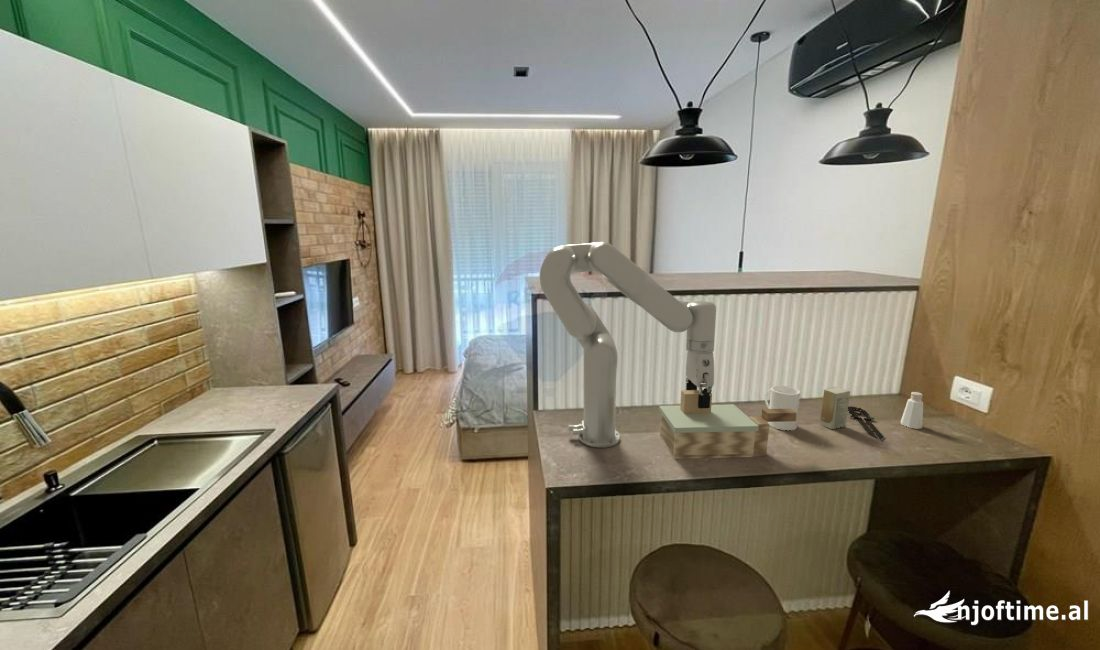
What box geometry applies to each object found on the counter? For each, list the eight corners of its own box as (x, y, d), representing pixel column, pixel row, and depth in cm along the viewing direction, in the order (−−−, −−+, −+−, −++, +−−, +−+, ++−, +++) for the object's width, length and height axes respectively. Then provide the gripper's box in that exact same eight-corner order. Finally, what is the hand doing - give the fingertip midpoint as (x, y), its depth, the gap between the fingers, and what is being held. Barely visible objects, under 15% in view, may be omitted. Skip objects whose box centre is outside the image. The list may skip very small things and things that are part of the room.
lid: (674, 432, 113) (675, 406, 112) (658, 410, 128) (660, 387, 126) (758, 431, 114) (760, 405, 112) (733, 408, 128) (735, 385, 127)
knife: (887, 443, 123) (888, 439, 123) (860, 439, 126) (861, 435, 126) (866, 411, 146) (867, 407, 145) (844, 408, 148) (845, 404, 148)
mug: (754, 416, 142) (757, 383, 139) (776, 414, 143) (780, 381, 141) (779, 432, 130) (783, 395, 128) (803, 429, 132) (807, 393, 129)
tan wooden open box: (674, 458, 115) (676, 426, 113) (659, 435, 129) (661, 406, 127) (767, 456, 116) (770, 424, 114) (742, 433, 130) (745, 404, 128)
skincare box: (833, 421, 137) (838, 386, 135) (846, 427, 133) (851, 390, 131) (818, 424, 135) (823, 388, 133) (831, 430, 131) (836, 393, 129)
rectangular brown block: (767, 421, 115) (767, 413, 115) (761, 417, 118) (762, 409, 118) (795, 421, 116) (796, 412, 115) (789, 416, 118) (790, 408, 118)
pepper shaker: (897, 424, 134) (903, 392, 132) (902, 420, 138) (908, 388, 135) (919, 430, 130) (926, 397, 128) (924, 426, 133) (930, 393, 131)
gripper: (726, 352, 111) (722, 413, 114) (701, 337, 128) (698, 390, 131) (698, 353, 111) (695, 413, 114) (677, 338, 127) (675, 391, 131)
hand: (697, 401), depth 123 cm, fingers open, 9 cm apart
